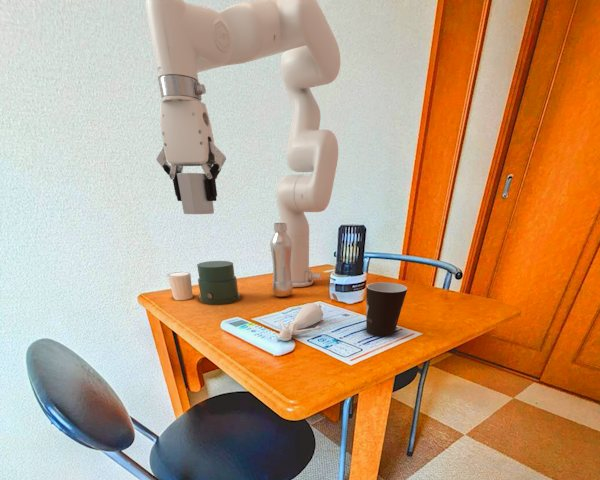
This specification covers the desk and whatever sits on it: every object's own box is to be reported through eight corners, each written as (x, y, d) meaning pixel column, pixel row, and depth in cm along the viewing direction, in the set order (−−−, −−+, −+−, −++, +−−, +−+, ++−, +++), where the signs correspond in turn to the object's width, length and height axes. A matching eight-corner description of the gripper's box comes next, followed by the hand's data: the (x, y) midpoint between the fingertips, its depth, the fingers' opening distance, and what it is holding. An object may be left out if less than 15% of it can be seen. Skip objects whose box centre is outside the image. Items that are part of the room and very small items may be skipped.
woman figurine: (338, 303, 75) (305, 332, 63) (337, 320, 78) (306, 351, 65) (295, 297, 80) (257, 323, 67) (296, 314, 83) (259, 342, 70)
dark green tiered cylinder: (246, 294, 99) (242, 260, 94) (230, 305, 89) (225, 268, 84) (211, 292, 102) (206, 259, 96) (192, 303, 92) (185, 267, 86)
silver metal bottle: (268, 297, 96) (264, 223, 85) (278, 292, 101) (275, 222, 90) (287, 299, 94) (285, 224, 83) (296, 294, 99) (295, 222, 88)
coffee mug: (392, 341, 67) (400, 294, 62) (355, 333, 71) (360, 288, 66) (407, 325, 75) (416, 282, 70) (374, 319, 79) (379, 278, 74)
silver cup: (218, 213, 75) (214, 174, 71) (205, 214, 69) (199, 172, 65) (193, 212, 76) (187, 175, 72) (178, 214, 71) (170, 173, 66)
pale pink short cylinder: (180, 302, 93) (175, 277, 89) (167, 298, 96) (161, 274, 92) (199, 296, 97) (195, 273, 94) (186, 293, 101) (181, 270, 97)
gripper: (229, 96, 63) (238, 200, 73) (153, 101, 66) (172, 200, 76) (212, 85, 57) (225, 201, 67) (129, 92, 60) (153, 201, 70)
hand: (197, 200), depth 71 cm, fingers closed on silver cup, 6 cm apart
